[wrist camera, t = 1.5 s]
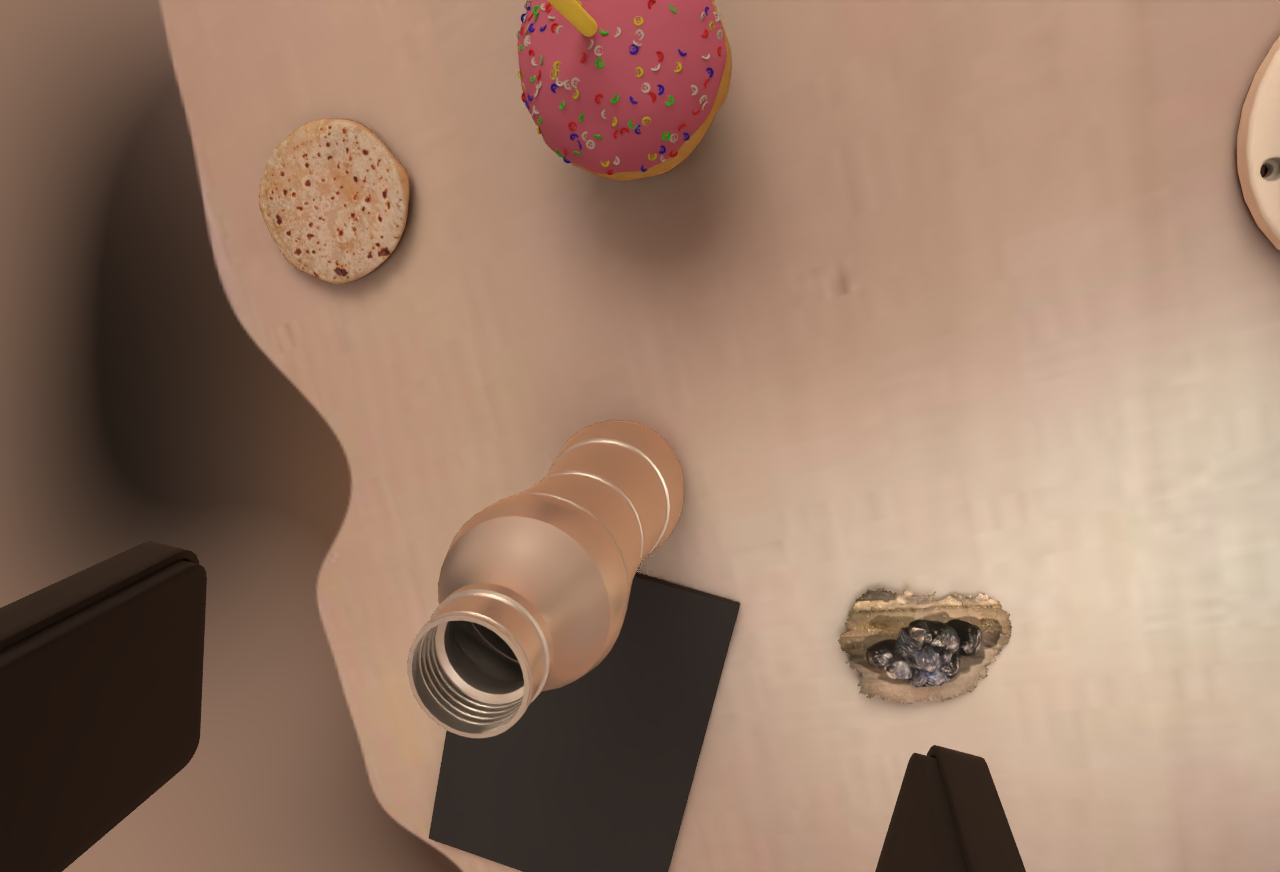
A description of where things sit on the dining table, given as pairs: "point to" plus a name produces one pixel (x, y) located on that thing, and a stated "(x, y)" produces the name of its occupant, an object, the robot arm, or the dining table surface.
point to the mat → (597, 749)
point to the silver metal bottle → (544, 579)
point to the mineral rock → (923, 644)
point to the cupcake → (623, 80)
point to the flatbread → (334, 200)
